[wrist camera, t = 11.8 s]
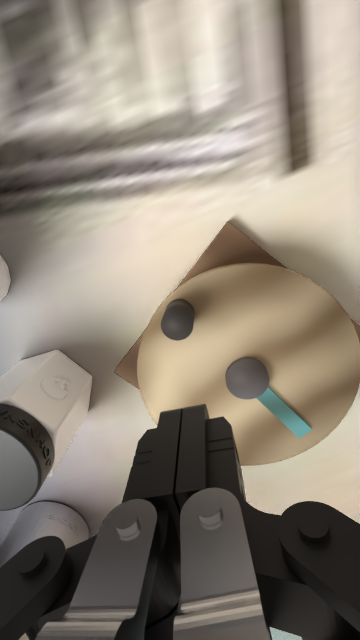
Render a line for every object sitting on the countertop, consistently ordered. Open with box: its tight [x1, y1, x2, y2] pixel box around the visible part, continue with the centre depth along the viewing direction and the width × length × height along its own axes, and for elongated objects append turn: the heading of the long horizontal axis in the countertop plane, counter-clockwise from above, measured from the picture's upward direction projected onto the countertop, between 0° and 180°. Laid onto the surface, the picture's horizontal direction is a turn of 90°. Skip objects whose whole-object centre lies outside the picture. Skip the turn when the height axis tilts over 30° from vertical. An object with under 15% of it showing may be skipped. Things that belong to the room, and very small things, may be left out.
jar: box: [0, 350, 92, 511], centre depth 30 cm, size 9×8×12 cm
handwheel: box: [137, 263, 360, 466], centre depth 28 cm, size 19×19×4 cm
